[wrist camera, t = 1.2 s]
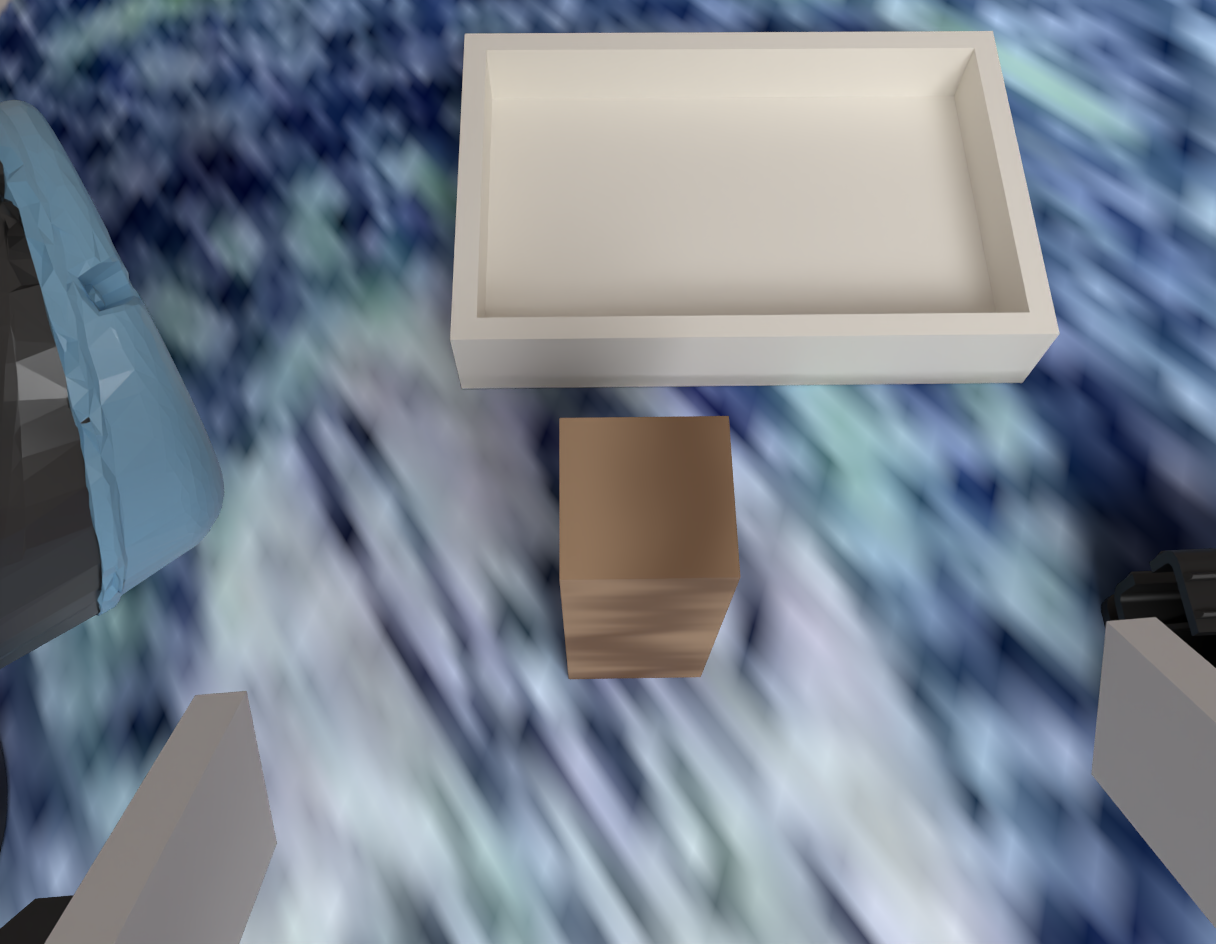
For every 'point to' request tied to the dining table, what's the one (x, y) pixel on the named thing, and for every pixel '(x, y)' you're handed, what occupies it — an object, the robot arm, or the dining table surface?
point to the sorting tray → (742, 212)
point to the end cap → (1173, 597)
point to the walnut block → (645, 543)
